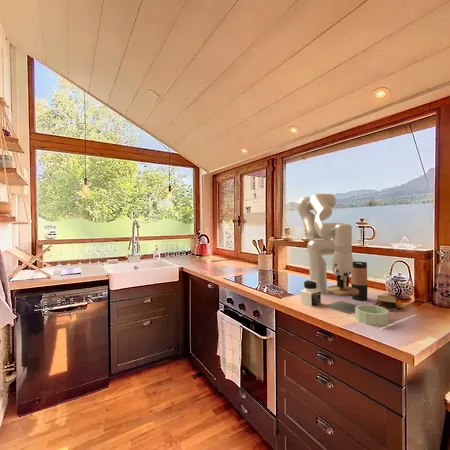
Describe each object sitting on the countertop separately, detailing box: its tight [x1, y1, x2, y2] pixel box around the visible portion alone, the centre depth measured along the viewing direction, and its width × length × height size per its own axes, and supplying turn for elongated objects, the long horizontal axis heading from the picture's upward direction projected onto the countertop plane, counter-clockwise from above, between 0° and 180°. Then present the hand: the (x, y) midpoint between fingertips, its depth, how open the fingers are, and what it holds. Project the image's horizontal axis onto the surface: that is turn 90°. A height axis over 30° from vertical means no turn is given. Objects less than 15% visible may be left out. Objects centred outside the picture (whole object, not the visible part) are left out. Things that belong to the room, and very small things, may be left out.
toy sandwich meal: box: [373, 294, 406, 313], centre depth 119 cm, size 12×14×5 cm
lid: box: [327, 275, 359, 297], centre depth 122 cm, size 14×14×8 cm
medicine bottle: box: [300, 279, 322, 307], centre depth 128 cm, size 7×7×12 cm
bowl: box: [354, 304, 390, 328], centre depth 104 cm, size 12×12×5 cm
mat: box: [323, 300, 358, 315], centre depth 121 cm, size 14×14×1 cm
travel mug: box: [350, 261, 368, 302], centre depth 133 cm, size 8×8×20 cm
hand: (342, 286), depth 122 cm, fingers closed on lid, 3 cm apart
